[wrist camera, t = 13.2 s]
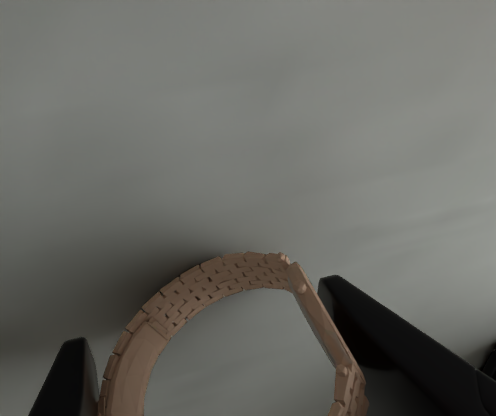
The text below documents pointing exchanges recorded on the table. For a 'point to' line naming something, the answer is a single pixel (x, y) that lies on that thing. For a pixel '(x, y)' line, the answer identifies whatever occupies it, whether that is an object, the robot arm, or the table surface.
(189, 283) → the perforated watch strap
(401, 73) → the table surface
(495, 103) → the table surface
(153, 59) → the table surface
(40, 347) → the table surface
